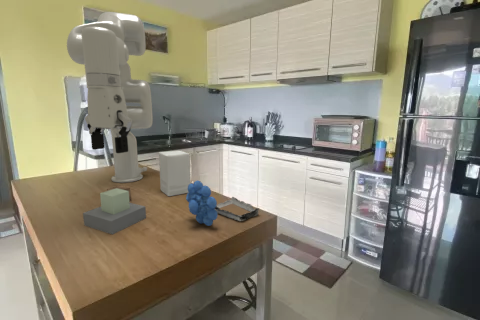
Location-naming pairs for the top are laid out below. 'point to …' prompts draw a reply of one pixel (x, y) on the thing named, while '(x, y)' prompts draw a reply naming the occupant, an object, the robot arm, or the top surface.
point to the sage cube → (115, 201)
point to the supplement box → (174, 172)
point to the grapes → (201, 203)
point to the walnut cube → (122, 189)
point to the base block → (114, 218)
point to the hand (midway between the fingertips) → (110, 150)
